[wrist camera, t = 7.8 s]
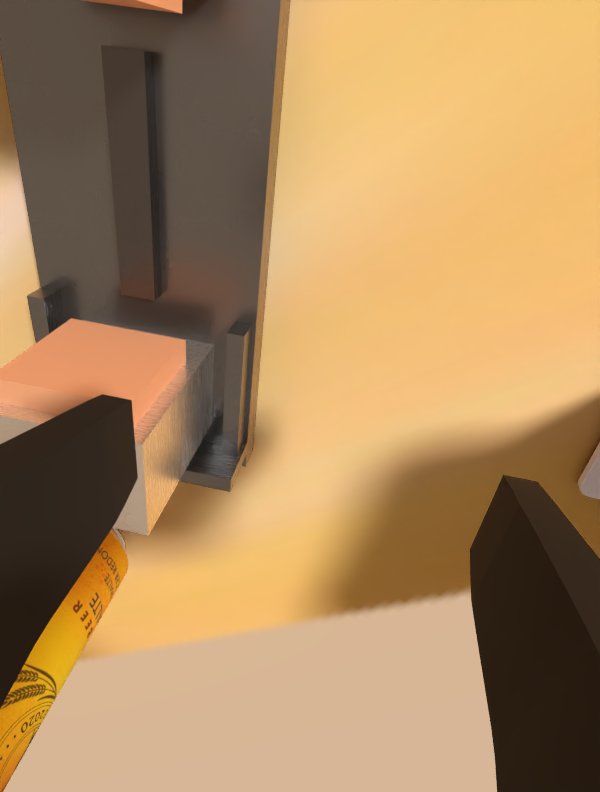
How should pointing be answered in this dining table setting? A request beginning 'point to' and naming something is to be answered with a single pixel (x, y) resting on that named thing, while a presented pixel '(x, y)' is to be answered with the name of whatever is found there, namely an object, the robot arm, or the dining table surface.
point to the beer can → (58, 652)
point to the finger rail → (154, 178)
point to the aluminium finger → (125, 378)
